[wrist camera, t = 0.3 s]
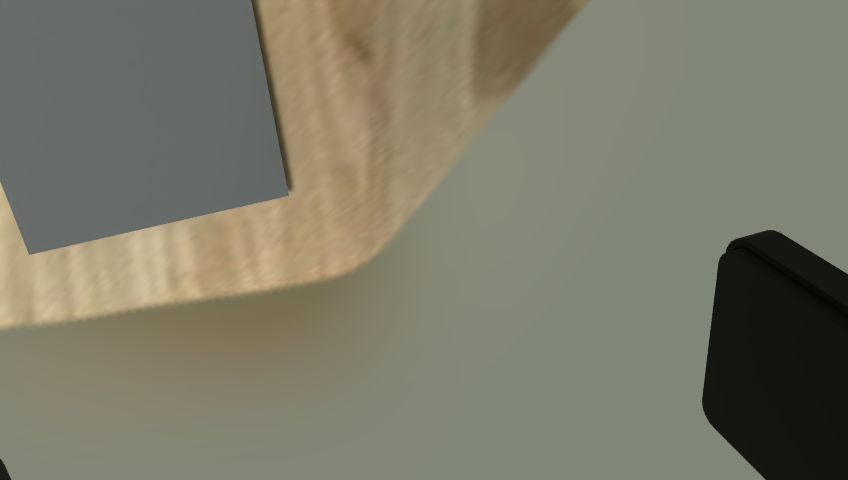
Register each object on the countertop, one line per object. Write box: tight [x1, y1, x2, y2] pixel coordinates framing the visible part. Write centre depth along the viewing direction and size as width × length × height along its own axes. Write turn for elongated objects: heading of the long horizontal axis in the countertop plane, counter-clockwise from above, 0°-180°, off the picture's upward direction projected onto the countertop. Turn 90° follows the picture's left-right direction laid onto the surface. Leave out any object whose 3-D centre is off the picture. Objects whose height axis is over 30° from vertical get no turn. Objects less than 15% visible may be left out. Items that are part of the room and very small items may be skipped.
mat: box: [0, 0, 289, 255], centre depth 35 cm, size 12×12×1 cm
